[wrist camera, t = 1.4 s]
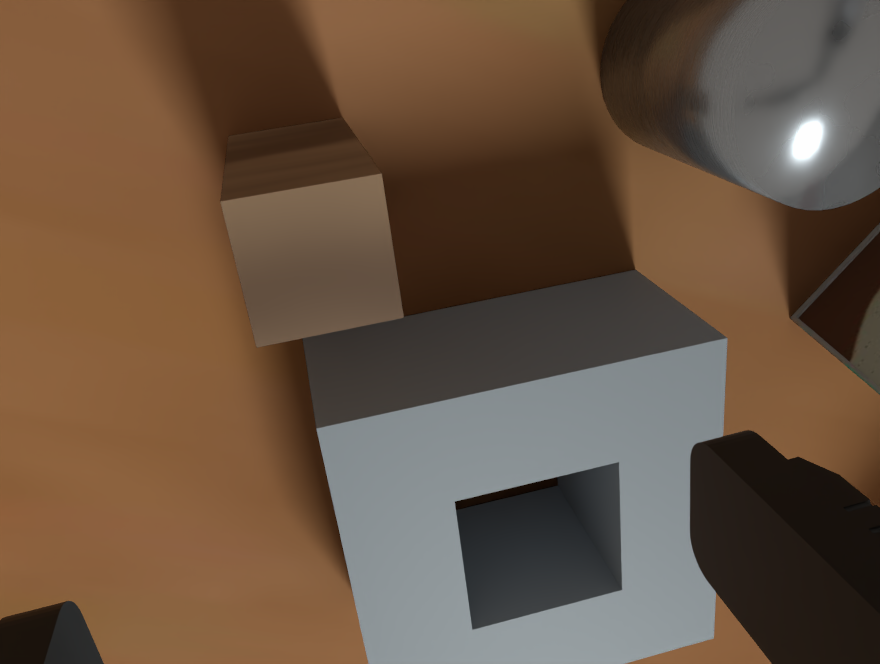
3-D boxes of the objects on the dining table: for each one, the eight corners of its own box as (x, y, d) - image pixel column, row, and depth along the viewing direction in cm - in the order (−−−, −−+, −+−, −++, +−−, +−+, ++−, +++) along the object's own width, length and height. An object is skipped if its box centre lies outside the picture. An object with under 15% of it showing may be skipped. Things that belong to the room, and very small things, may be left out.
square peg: (228, 136, 27) (220, 201, 19) (342, 117, 28) (381, 173, 20) (253, 245, 29) (256, 347, 21) (361, 225, 29) (404, 317, 21)
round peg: (597, -21, 28) (741, -22, 20) (766, -45, 29) (969, -56, 21) (602, 163, 30) (730, 228, 22) (756, 136, 31) (931, 189, 23)
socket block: (302, 337, 31) (316, 428, 24) (635, 269, 33) (727, 338, 26) (360, 603, 37) (383, 731, 30) (638, 532, 39) (713, 638, 32)
